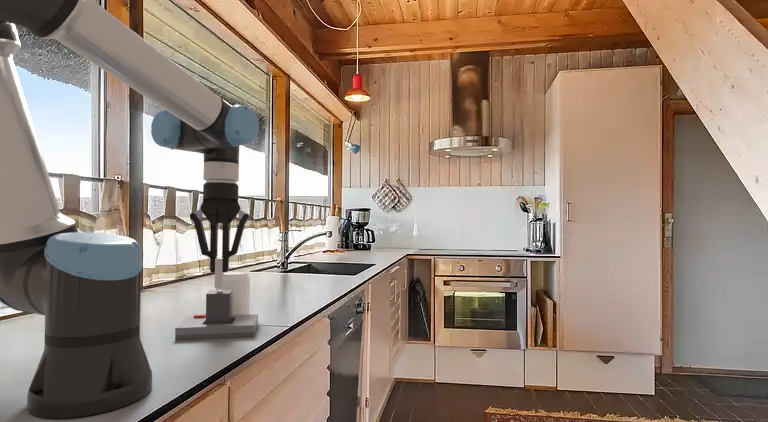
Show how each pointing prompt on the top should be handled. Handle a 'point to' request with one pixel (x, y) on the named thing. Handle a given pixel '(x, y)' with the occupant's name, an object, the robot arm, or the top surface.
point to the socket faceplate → (216, 327)
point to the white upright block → (238, 291)
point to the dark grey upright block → (219, 307)
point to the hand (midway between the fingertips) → (219, 286)
